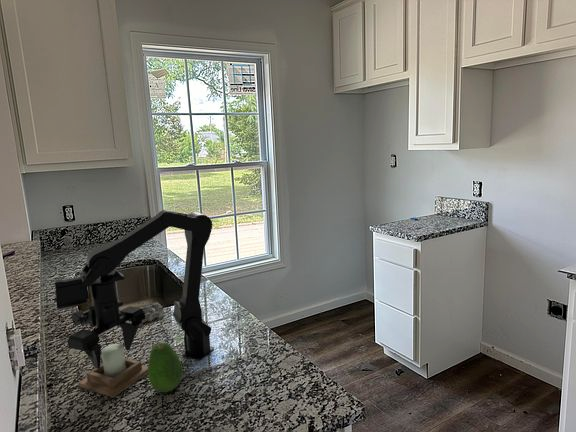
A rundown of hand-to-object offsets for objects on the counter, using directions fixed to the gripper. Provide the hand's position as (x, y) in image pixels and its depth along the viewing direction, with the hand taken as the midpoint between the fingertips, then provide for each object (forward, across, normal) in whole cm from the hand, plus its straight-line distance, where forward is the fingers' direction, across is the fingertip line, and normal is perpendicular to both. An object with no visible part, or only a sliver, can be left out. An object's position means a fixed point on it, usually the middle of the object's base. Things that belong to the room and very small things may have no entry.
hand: (113, 358), depth 99 cm
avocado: (+6, -1, +16) cm, 17 cm away
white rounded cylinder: (+4, 0, 0) cm, 5 cm away
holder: (+5, 0, 0) cm, 5 cm away
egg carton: (+6, -31, -20) cm, 37 cm away
